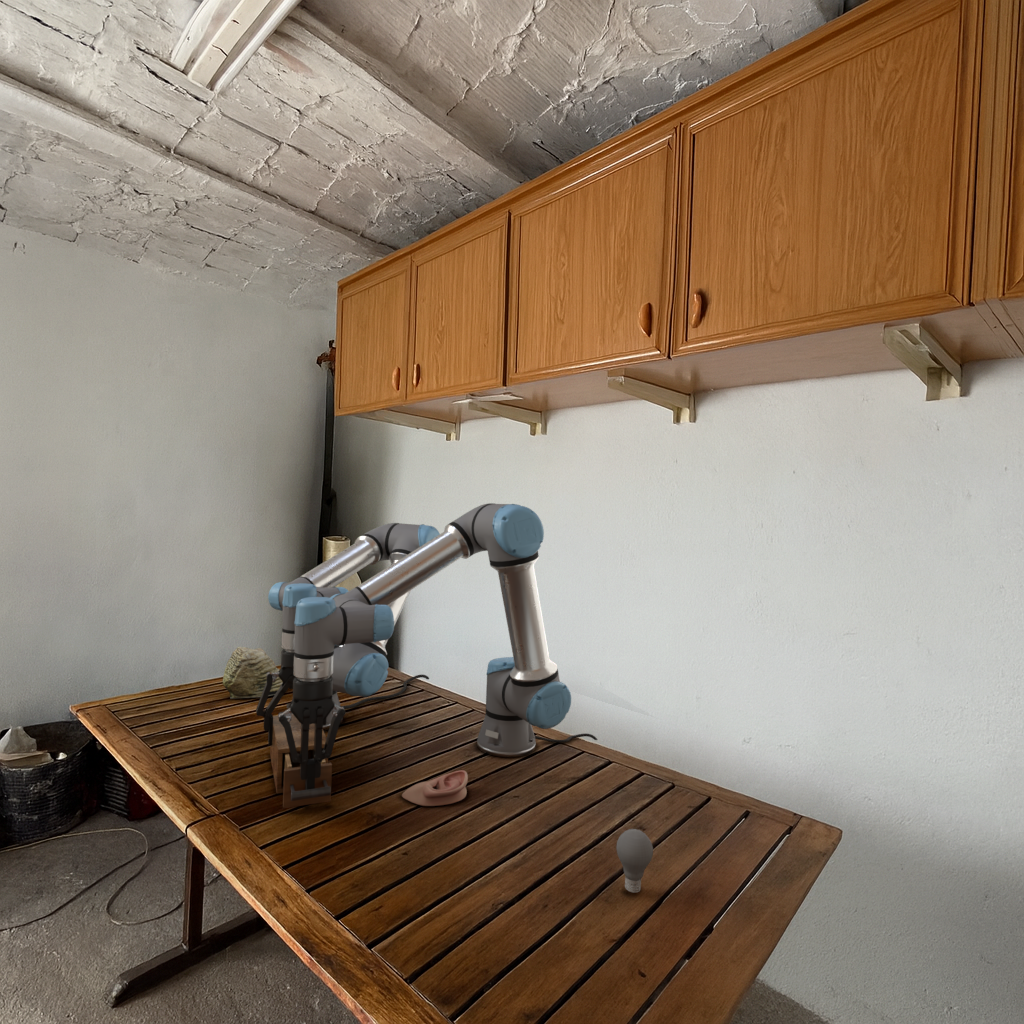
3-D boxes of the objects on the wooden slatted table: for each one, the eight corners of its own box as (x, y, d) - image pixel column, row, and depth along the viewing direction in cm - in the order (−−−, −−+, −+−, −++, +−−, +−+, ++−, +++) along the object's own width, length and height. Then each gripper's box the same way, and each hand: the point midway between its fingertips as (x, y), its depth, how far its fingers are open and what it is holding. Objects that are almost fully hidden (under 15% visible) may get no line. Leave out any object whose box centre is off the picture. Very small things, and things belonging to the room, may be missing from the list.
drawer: (334, 813, 125) (336, 775, 125) (285, 821, 121) (286, 782, 121) (317, 762, 148) (318, 730, 148) (275, 767, 145) (277, 734, 144)
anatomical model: (397, 783, 132) (416, 761, 144) (396, 802, 132) (415, 779, 144) (458, 792, 130) (472, 769, 141) (457, 811, 130) (471, 786, 141)
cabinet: (327, 786, 138) (328, 743, 138) (276, 793, 134) (278, 749, 134) (314, 749, 158) (315, 711, 158) (270, 754, 154) (271, 716, 154)
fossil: (218, 695, 195) (220, 647, 195) (278, 685, 208) (279, 640, 207) (228, 703, 189) (230, 653, 188) (289, 692, 201) (290, 645, 201)
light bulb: (610, 879, 108) (613, 822, 108) (644, 879, 109) (647, 822, 109) (619, 902, 102) (622, 840, 102) (655, 901, 103) (658, 840, 103)
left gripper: (246, 655, 143) (243, 752, 144) (349, 649, 153) (346, 740, 153) (245, 648, 150) (242, 740, 151) (344, 642, 160) (341, 729, 160)
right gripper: (279, 684, 119) (276, 808, 120) (350, 678, 125) (346, 797, 125) (277, 673, 126) (273, 790, 127) (343, 668, 131) (340, 781, 132)
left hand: (294, 740), depth 152 cm, fingers closed on cabinet, 10 cm apart
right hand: (309, 793), depth 126 cm, fingers closed
